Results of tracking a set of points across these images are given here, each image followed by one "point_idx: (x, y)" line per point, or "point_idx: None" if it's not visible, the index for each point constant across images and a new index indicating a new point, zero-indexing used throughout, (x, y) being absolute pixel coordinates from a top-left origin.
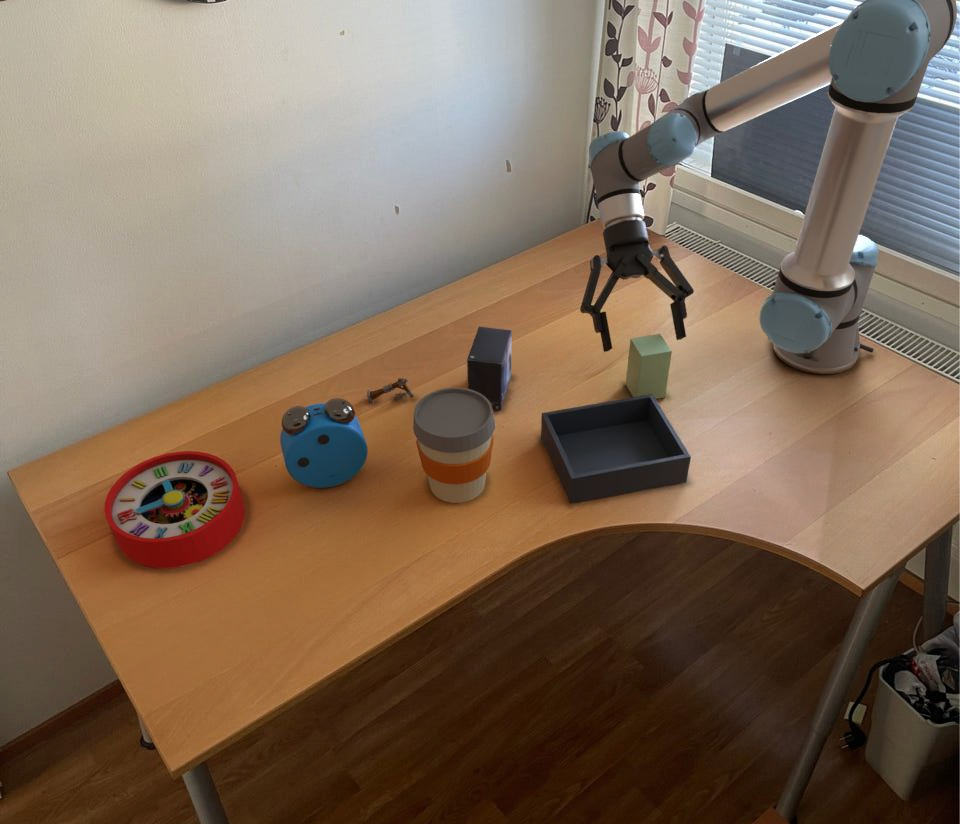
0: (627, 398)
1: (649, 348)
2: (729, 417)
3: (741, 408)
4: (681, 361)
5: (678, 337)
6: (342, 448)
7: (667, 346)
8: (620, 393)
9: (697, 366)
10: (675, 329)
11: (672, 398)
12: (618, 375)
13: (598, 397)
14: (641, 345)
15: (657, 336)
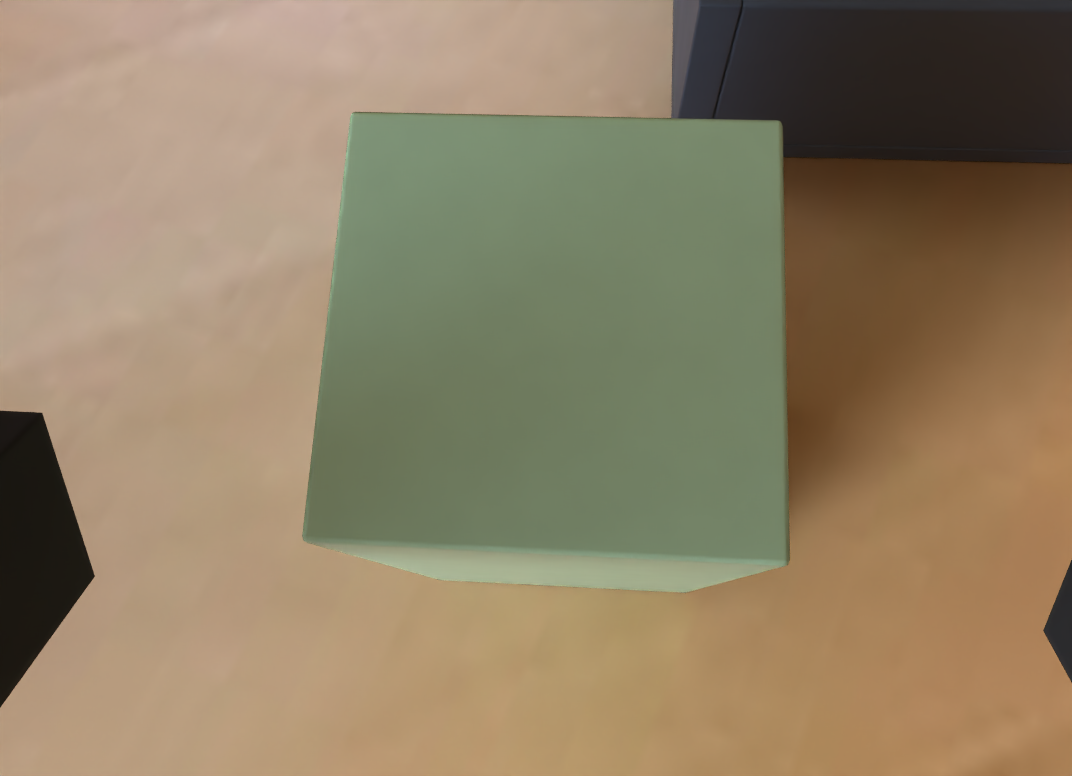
0: (948, 4)
1: (609, 247)
2: (152, 35)
3: (28, 91)
4: (100, 747)
5: (65, 528)
6: None
7: (355, 213)
8: None
9: None
10: (11, 659)
11: None
12: (700, 735)
13: (961, 498)
14: (691, 346)
15: (370, 485)
